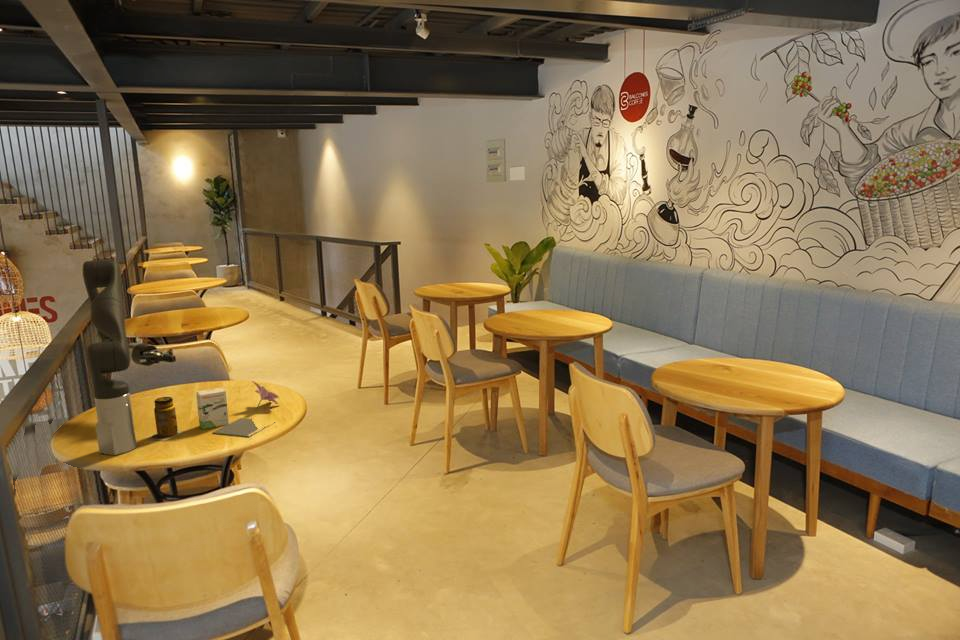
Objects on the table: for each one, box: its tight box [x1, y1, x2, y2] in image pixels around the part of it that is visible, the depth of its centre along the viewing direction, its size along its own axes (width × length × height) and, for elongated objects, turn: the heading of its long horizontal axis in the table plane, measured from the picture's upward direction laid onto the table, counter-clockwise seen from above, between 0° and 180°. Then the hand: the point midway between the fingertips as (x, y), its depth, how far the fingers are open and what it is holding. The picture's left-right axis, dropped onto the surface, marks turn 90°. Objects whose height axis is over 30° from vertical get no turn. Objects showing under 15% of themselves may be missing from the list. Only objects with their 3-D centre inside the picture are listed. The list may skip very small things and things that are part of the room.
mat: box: [212, 417, 266, 438], centre depth 214 cm, size 14×14×1 cm
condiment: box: [146, 396, 185, 442], centre depth 209 cm, size 7×8×12 cm
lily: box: [251, 380, 280, 410], centre depth 234 cm, size 12×12×10 cm
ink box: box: [195, 387, 230, 430], centre depth 217 cm, size 9×5×12 cm, turn 123°
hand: (173, 359), depth 222 cm, fingers closed
